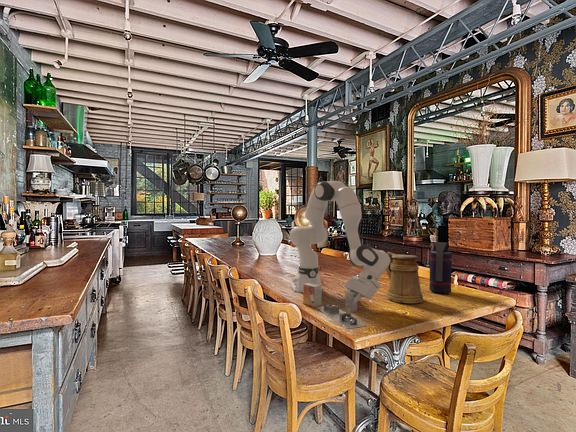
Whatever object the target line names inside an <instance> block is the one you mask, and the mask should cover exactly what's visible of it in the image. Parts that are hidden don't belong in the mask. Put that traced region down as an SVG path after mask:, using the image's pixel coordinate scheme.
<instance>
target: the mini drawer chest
mask: <svg viewBox="0 0 576 432" xmlns="http://www.w3.org/2000/svg"><path fill="white" fill-rule="evenodd" d="M356 296H358V293H357V292H354V291H348V290H345V291H344V310H346V312H348V313H354V312H358V301H357V302H356V303H355V302H353V301H352V299H353V298H354V297H356Z"/></svg>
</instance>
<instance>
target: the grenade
mask: <svg viewBox="0 0 576 432" xmlns="http://www.w3.org/2000/svg"><path fill="white" fill-rule="evenodd" d="M452 267H453V253H452V252H451V251H450V250H449V242H440V241H436V242H435V241H434V242H433V245H432V246H431V249H430V252H429V288H428V290H430V292H431V293H432V294H435V293H441V294H444V295H448V294H449V293H452V277H453V276H452V274H453V273H452V272H453V271H452V269H453V268H452Z"/></svg>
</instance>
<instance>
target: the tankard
mask: <svg viewBox="0 0 576 432" xmlns="http://www.w3.org/2000/svg"><path fill="white" fill-rule="evenodd" d="M386 253H387V254H388V255H389V257H390V260H391V261H390V264H389V266H388V268H387V269H386V270H385V272H386V274H387V276H388V278H389V287H388V289H387V291H386V292H387V294H386V295H387V296H386V298H387V299H388V300H389V301H392V302H394V303H399V304H400V303H401V304H421V303H422V302H424V296H423V293H422V290H421V289H422V288H421V283H420V277H419V269H420V267H419V263H418V262H417V259H418V257H417V255H413V254H411V255H410V254H409V255H408V254H398V253H393V252H391V251H387V252H386Z"/></svg>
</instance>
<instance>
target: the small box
mask: <svg viewBox="0 0 576 432" xmlns="http://www.w3.org/2000/svg"><path fill="white" fill-rule="evenodd" d="M322 287H323V285H322V284H321V285H318V284H314V283H306V284H304V292H302V293H303V297H302V298H303V300H302V301H303V302H302V304H304V305H307V306H309V307H313V308H316V307H321V306H322V296H323V295H322V291H323V289H322Z"/></svg>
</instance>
